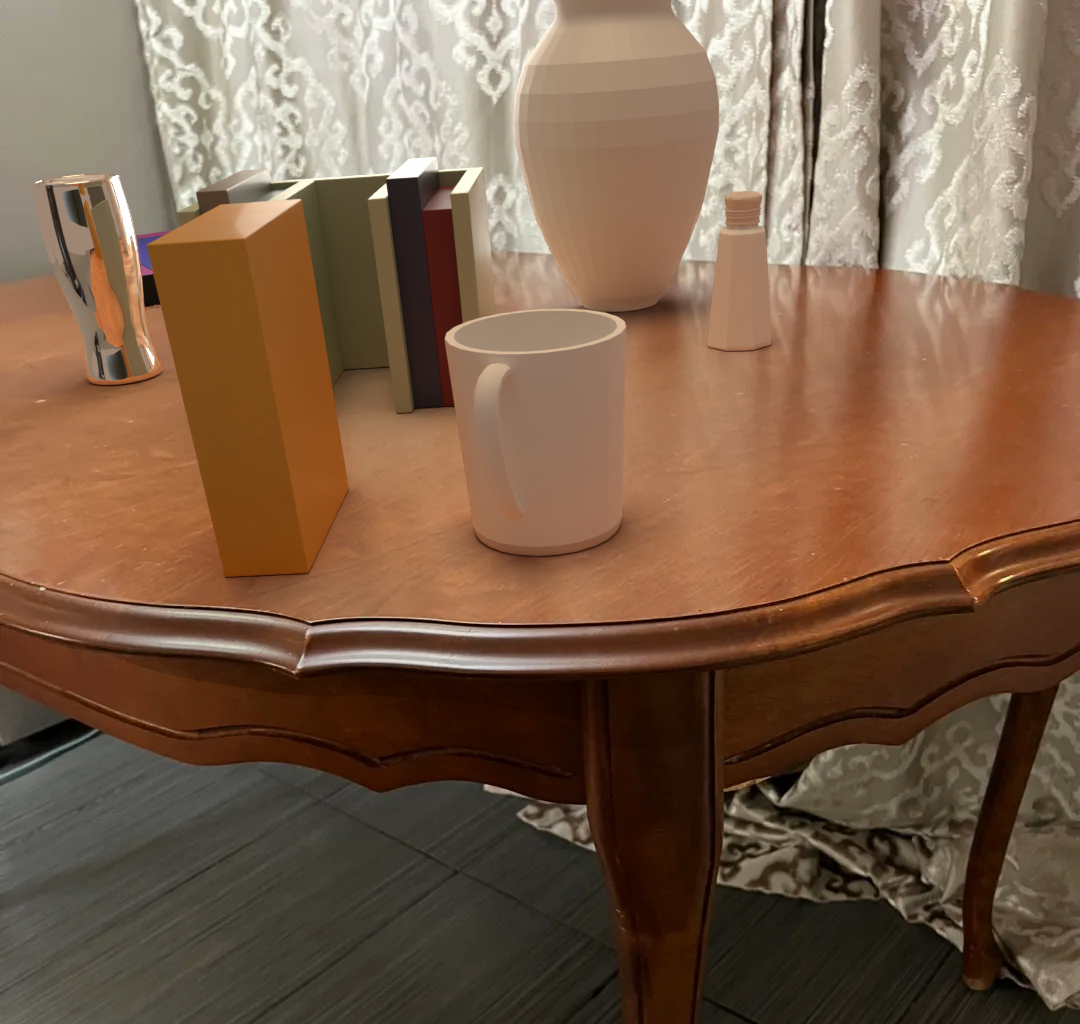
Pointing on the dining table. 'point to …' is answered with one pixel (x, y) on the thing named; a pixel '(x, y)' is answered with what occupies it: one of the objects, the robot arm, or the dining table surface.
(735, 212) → the pepper shaker
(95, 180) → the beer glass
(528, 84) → the vase
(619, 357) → the mug
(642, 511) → the dining table surface
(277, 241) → the ochre book
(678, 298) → the dining table surface
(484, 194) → the bookrack
